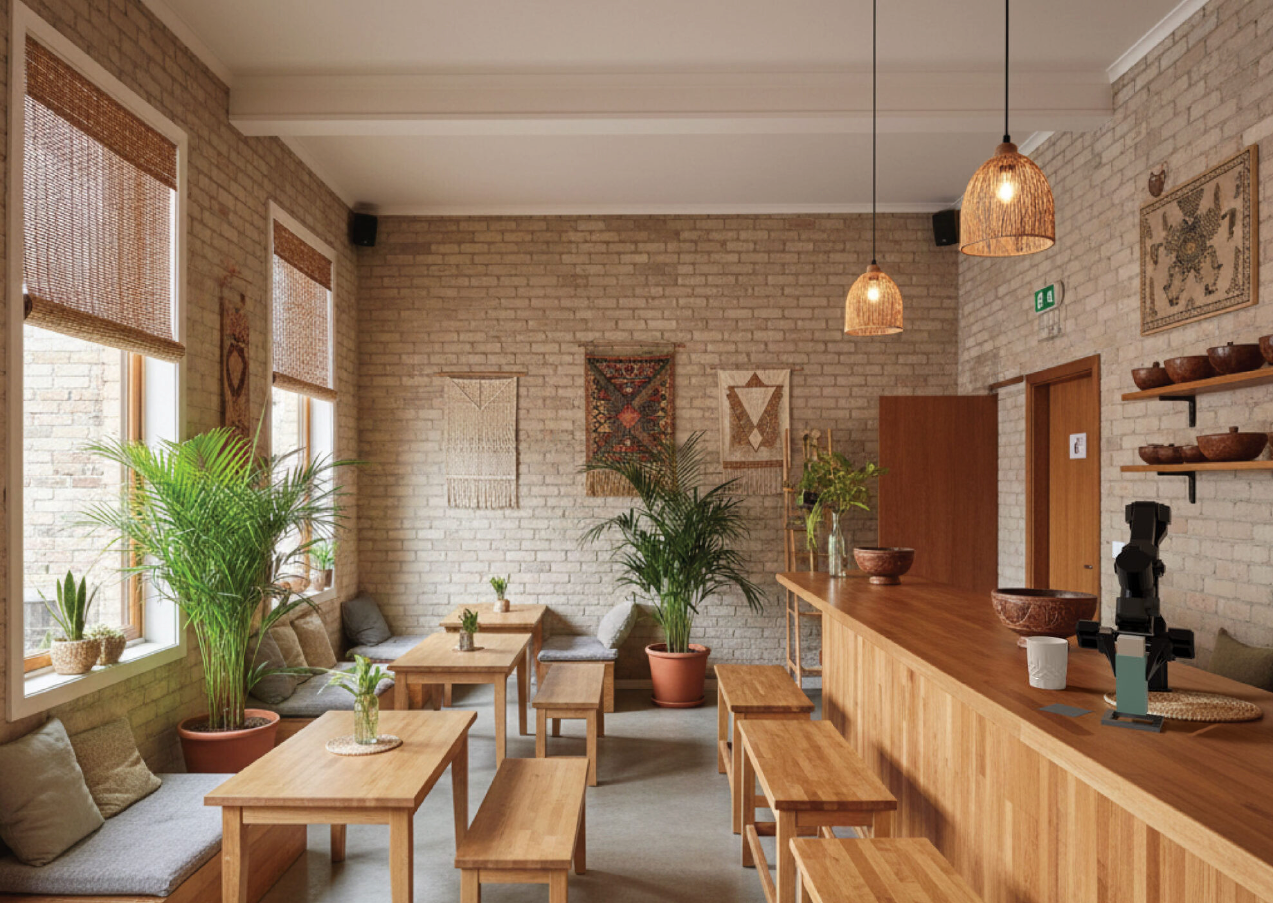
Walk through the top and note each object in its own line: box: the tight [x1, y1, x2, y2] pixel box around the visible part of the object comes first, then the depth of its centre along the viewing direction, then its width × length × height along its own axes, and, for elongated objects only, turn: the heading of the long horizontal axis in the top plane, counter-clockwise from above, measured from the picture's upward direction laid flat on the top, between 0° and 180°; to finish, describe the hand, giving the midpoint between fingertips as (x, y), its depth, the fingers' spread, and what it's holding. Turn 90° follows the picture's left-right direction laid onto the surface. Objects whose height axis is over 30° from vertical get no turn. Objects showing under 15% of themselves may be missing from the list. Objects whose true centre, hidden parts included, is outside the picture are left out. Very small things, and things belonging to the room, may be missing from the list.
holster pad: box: [1038, 702, 1094, 718], centre depth 164 cm, size 7×7×1 cm
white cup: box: [1025, 635, 1069, 690], centre depth 183 cm, size 8×8×10 cm
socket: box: [1100, 708, 1165, 734], centre depth 156 cm, size 12×12×1 cm
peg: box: [1115, 635, 1149, 716], centre depth 156 cm, size 4×4×13 cm
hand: (1130, 677), depth 155 cm, fingers closed on peg, 4 cm apart
